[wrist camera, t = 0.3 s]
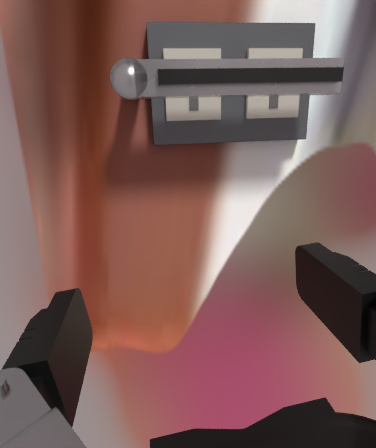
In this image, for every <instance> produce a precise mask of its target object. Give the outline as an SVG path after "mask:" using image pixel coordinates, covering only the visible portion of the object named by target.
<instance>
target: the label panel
mask: <svg viewBox="0 0 376 448" xmlns="http://www.w3.org/2000/svg"><path fill="white" fill-rule="evenodd" d="M146 29H147V45H148V59H264V58H313V46H314V33H315V23H212V22H147V27H146ZM308 108H309V95H299V96H252V97H205V98H159V99H151V109H152V125H153V141H154V145H168V144H194V143H219V142H245V141H270V140H296V139H306V133H307V120H308Z"/></svg>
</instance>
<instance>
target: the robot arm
mask: <svg viewBox="0 0 376 448" xmlns="http://www.w3.org/2000/svg"><path fill="white" fill-rule="evenodd" d="M295 256H296V257H295V259H296V285H297V289H298V293H299V295H300V297H301V299H302V300H303V301H304V302H305V303H306V305H307V306H308V307H309V308H310V309H311V310H312V311H313V312H314V313H315V315H316V316H317V317H318V318H319V319H320V320H321V321H322V322H323V323H324V325H325V326H326V327H327V328H328V329H329V330H330V331H331V332H332V333H333V335H334V336H335V337H336V338H337V339H338V340H339V341H340V342H341V343H342V345H344V347H345V348H346V349H347V350H348V351H349V352H350V353H351V354H352V356H353V357H354V358H355V359H356V360H357V361H358V362H359V363H361V362H366V361H370V360H374V359H375V360H376V274H375V273H373V272H371V271H368V269H367V268H365V267H364V266H362V265H359V263H357V262H356V261H354V260H353V259H351V258H350V257H348V256H345V255H342V254H339V253H336V252H332V251H330V250H329V249H327V248H326V247H324V246H323V245H321V244H320V243H311V244H306V245H301V246H297V248H296V251H295ZM91 345H92V327H91V323H90V320H89V316H88V313H87V310H86V306H85V303H84V299H83V296H82V293H81V291H80V289H79V288H76V289H71V290H66V291H61V292H56V293H55V295H54V297H53V299H52V301H51V302H50V304H49V306H48V308H46V309H42V310H41V311H39V312H38V313H37V314H36V315H35V316H34V317H33V318H32V319H31V320H30V321H29V323H28V325H27V326H26V328H25V330H24V333H22V335H21V337H20V339H19V342H17V344H16V346H15V347H14V349H13V351H12V353H11V354H10V356H9V358H8V359H7V361H6V363H5V365H4V366H3V368H2V370H1V371H0V448H86V447H85V445H84V444H83V442H82V441H81V440H80V438H79V437H78V436H77V434H76V433H75V432H74V430H73V429H72V426H73V422H74V417H75V413H76V409H77V405H78V401H79V396H80V392H81V388H82V384H83V379H84V375H85V371H86V366H87V362H88V358H89V354H90V350H91ZM150 448H376V420H373V419H370V418H366V417H363V416H359V415H354V414H348V413H339V412H335V411H334V409H333V408H332V407H331V405H330V403H329V402H328V401H327V399H326V398H321V399H317V400H313V401H309V402H305V403H300V404H296V405H292V406H288V407H284V408H282V409H280V410H278V411H276V412H275V413H273V414H271V415H269V416H268V417H265V418H264V419H262V420H260V421H258V422H256V423H254V424H253V425H251V426H249V427H247V428H245V429H191V430H187V431H183V432H179V433H175V434H170V435H166V436H162V437H158V438H153V439H150Z"/></svg>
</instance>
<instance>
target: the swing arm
mask: <svg viewBox="0 0 376 448" xmlns="http://www.w3.org/2000/svg"><path fill="white" fill-rule="evenodd" d="M344 59H345V58H264V59H131V58H124V59H121V60H119V61H117V62H116V63H115V64H114V66H113V67H112V69H111V73H110V80H111V84H112V87H113V88H114V90H115V91H116V92H117V94H118V95H119V96H120V97H122V98H124V99H126V100H136V99H159V98H205V97H252V96H299V95H331V94H337V93H341V87H342V78H343V69H344Z"/></svg>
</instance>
